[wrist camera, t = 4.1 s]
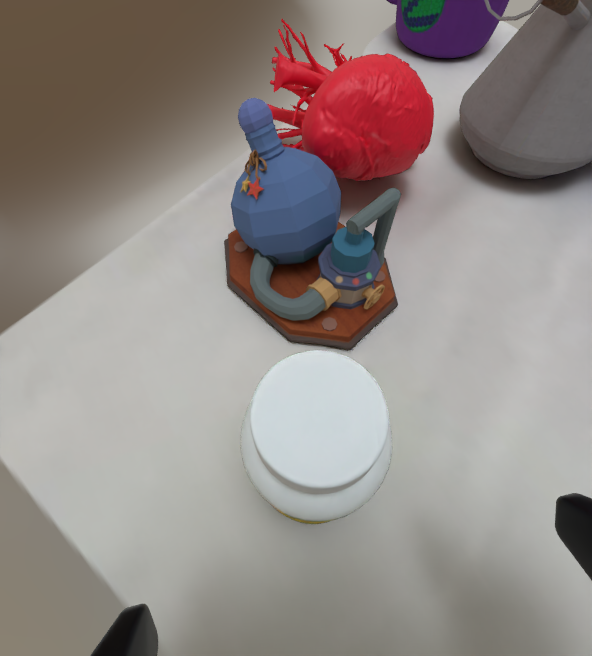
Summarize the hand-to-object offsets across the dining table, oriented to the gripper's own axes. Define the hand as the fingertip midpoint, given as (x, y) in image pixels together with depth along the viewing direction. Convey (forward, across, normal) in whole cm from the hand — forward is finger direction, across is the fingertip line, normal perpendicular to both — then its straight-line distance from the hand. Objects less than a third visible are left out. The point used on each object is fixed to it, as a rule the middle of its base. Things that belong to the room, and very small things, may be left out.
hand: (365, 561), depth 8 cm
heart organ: (+16, -8, -12) cm, 22 cm away
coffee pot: (+23, -19, -8) cm, 31 cm away
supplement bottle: (+10, 0, +5) cm, 11 cm away
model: (+19, -3, -4) cm, 19 cm away
